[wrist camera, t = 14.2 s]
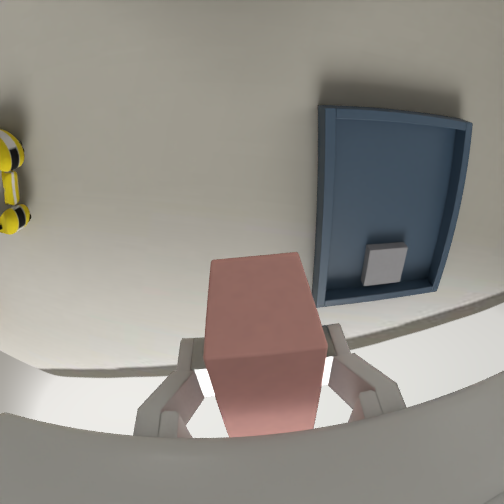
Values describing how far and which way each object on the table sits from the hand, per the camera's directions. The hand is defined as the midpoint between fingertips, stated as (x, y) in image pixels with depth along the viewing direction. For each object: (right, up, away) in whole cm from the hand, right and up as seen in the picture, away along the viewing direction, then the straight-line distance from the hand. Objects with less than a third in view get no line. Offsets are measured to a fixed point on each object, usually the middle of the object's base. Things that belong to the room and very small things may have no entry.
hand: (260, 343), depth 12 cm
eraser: (0, +1, +1) cm, 1 cm away
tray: (+12, +7, +14) cm, 19 cm away
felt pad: (+12, +3, +16) cm, 20 cm away
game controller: (-22, +11, +10) cm, 27 cm away
